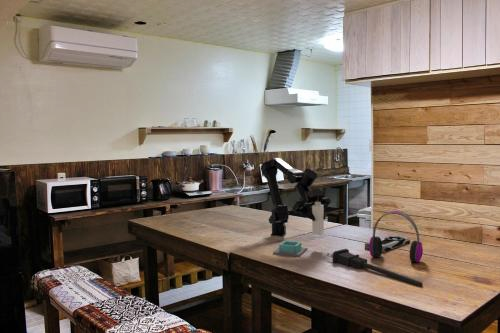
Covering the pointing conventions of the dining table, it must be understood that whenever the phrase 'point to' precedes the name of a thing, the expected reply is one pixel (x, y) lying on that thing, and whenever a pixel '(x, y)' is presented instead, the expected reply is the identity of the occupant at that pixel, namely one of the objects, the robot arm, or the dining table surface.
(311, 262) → the dining table surface
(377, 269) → the electrical plug
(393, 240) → the graphics card
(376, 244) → the headphones
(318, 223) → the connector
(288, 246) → the holder board
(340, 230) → the dining table surface
